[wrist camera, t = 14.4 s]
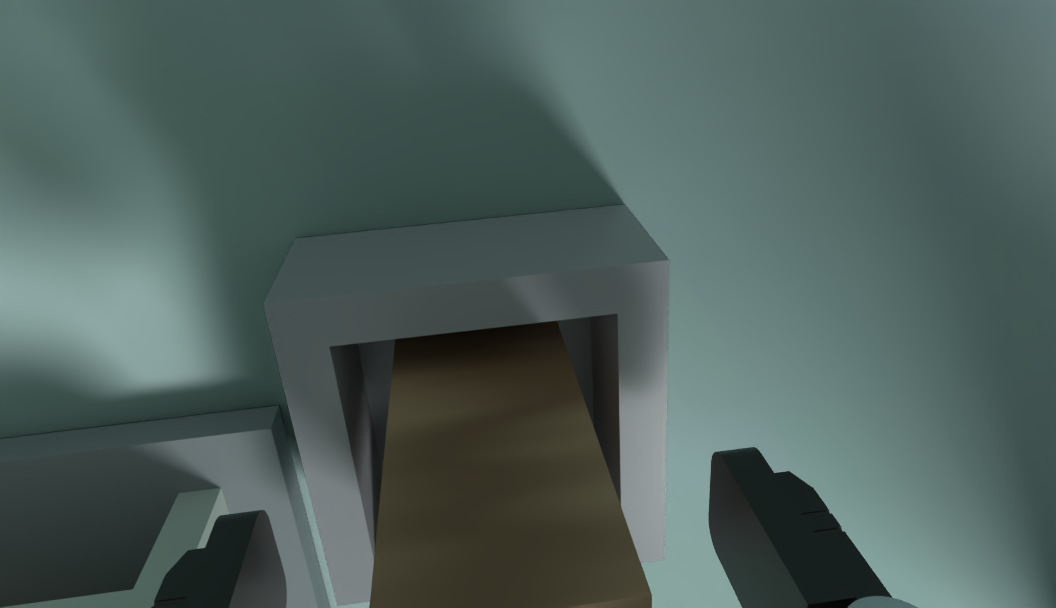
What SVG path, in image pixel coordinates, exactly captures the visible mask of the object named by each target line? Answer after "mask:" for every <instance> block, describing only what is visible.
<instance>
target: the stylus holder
mask: <svg viewBox="0 0 1056 608" xmlns="http://www.w3.org/2000/svg"><path fill="white" fill-rule="evenodd" d="M668 299H669V259H668V258H667V257H666V255H665V254H664V253H663V252H662V250H661V249H660V248H659V247H658V245H657V244H656V243H655V241H654V240H653V239H652V238H651V236H650V235H649V234H648V233H647V231H646V230H645V229H644V228H643V226H642V225H641V224H640V222H639V221H638V220H637V219H636V217H635V216H634V215H633V214H632V212H631V211H630V210H629V208H628V207H627V206H626V205H625V204H623V205H613V206H604V207H594V208H584V209H574V210H565V211H555V212H545V213H536V214H526V215H516V216H506V217H497V218H487V219H477V220H468V221H458V222H448V223H438V224H429V225H419V226H409V227H400V228H390V229H380V230H370V231H361V232H351V233H341V234H332V235H322V236H312V237H302V238H295V240H294V242H293V244H292V246H291V248H290V250H289V252H288V254H287V256H286V258H285V260H284V262H283V264H282V266H281V268H280V270H279V272H278V274H277V277H276V279H275V281H274V283H273V285H272V287H271V289H270V291H269V293H268V295H267V297H266V299H265V301H264V303H263V307H264V311H265V315H266V319H267V323H268V327H269V331H270V335H271V339H272V344H273V348H274V352H275V356H276V360H277V364H278V368H279V372H280V376H281V380H282V384H283V388H284V392H285V396H286V400H287V404H288V408H289V412H290V416H291V420H292V424H293V428H294V433H295V437H296V441H297V445H298V449H299V453H300V457H301V461H302V465H303V469H304V473H305V477H306V481H307V485H308V489H309V493H310V497H311V501H312V505H313V509H314V513H315V517H316V521H317V526H318V530H319V534H320V538H321V542H322V546H323V550H324V554H325V558H326V562H327V566H328V570H329V574H330V578H331V582H332V586H333V590H334V594H335V598H336V602H337V606H340V605H347V604H354V603H361V602H368V601H370V596H371V586H372V575H373V565H374V555H375V544H376V534H377V523H378V513H379V503H380V492H381V482H382V471H383V461H384V451H385V440H386V430H387V419H388V409H389V399H390V388H391V378H392V367H393V357H394V347H395V339H400V338H409V337H418V336H426V335H435V334H444V333H453V332H461V331H470V330H479V329H487V328H496V327H505V326H514V325H522V324H531V323H540V322H549V321H557V323H558V325H559V328H560V331H561V334H562V337H563V340H564V343H565V346H566V349H567V351H568V354H569V357H570V360H571V363H572V366H573V369H574V372H575V375H576V378H577V380H578V383H579V386H580V389H581V392H582V395H583V398H584V401H585V404H586V406H587V409H588V412H589V415H590V418H591V421H592V424H593V427H594V430H595V432H596V435H597V438H598V441H599V444H600V447H601V450H602V453H603V456H604V459H605V461H606V464H607V467H608V470H609V473H610V476H611V479H612V482H613V485H614V487H615V490H616V493H617V496H618V499H619V502H620V505H621V508H622V511H623V514H624V516H625V519H626V522H627V525H628V528H629V531H630V534H631V537H632V540H633V542H634V545H635V548H636V551H637V554H638V557H639V560H640V563H644V562H651V561H658V560H664V551H665V488H666V425H667V362H668Z"/></svg>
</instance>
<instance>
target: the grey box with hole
mask: <svg viewBox="0 0 1056 608" xmlns="http://www.w3.org/2000/svg"><path fill="white" fill-rule="evenodd" d="M257 510H265V511H266V513H267V514H268V517H269V520H270V523H271V527H272V530H273V534H274V537H275V541H276V544H277V548H278V551H279V555H280V558H281V562H282V566H283V569H284V573H285V578H286V585H287V604H286V608H330V605H329V601H328V597H327V593H326V590H325V586H324V582H323V578H322V574H321V570H320V566H319V562H318V558H317V554H316V550H315V546H314V542H313V538H312V534H311V530H310V526H309V522H308V519H307V515H306V511H305V507H304V503H303V499H302V495H301V491H300V487H299V483H298V479H297V475H296V471H295V467H294V463H293V459H292V455H291V451H290V448H289V444H288V440H287V436H286V432H285V428H284V424H283V420H282V416H281V412H280V408H279V405H278V406H270V407H262V408H253V409H245V410H237V411H228V412H220V413H212V414H203V415H195V416H187V417H178V418H170V419H162V420H153V421H145V422H137V423H128V424H120V425H112V426H103V427H95V428H87V429H78V430H70V431H62V432H53V433H45V434H37V435H28V436H20V437H12V438H3V439H0V608H151V607H152V606H154V600H155V597H156V595H157V593H158V590H159V588H160V586H161V584H162V581H163V579H164V577H165V575H166V573H167V572H168V571H169V570H170V569H171V568H172V567H173V566H174V565H175V564H176V562H177V561H178V560H179V559H180V558H181V557H182V556H183V555H184V554H185V553H186V552H187V550H192V549H200V548H205V546H206V544H207V541H208V539H209V536H210V533H211V531H212V528H213V526H214V523H215V521H216V519H217V518H218V517H219V516H220V515H227V514H234V513H242V512H250V511H257Z"/></svg>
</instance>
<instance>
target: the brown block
mask: <svg viewBox="0 0 1056 608" xmlns="http://www.w3.org/2000/svg"><path fill="white" fill-rule="evenodd" d="M369 608H652V595H651V592H650V589H649V586H648V583H647V580H646V577H645V574H644V571H643V568H642V566H641V563H640V560H639V557H638V554H637V551H636V548H635V545H634V542H633V540H632V537H631V534H630V531H629V528H628V525H627V522H626V519H625V516H624V514H623V511H622V508H621V505H620V502H619V499H618V496H617V493H616V490H615V487H614V485H613V482H612V479H611V476H610V473H609V470H608V467H607V464H606V461H605V459H604V456H603V453H602V450H601V447H600V444H599V441H598V438H597V435H596V432H595V430H594V427H593V424H592V421H591V418H590V415H589V412H588V409H587V406H586V404H585V401H584V398H583V395H582V392H581V389H580V386H579V383H578V380H577V378H576V375H575V372H574V369H573V366H572V363H571V360H570V357H569V354H568V351H567V349H566V346H565V343H564V340H563V337H562V334H561V331H560V328H559V325H558V323H557V321H549V322H540V323H531V324H522V325H514V326H505V327H496V328H487V329H479V330H470V331H461V332H453V333H444V334H435V335H426V336H418V337H409V338H400V339H395V347H394V357H393V367H392V378H391V388H390V399H389V409H388V419H387V430H386V440H385V451H384V461H383V471H382V482H381V492H380V503H379V513H378V523H377V534H376V544H375V555H374V565H373V575H372V586H371V596H370V607H369Z"/></svg>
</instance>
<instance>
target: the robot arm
mask: <svg viewBox="0 0 1056 608" xmlns="http://www.w3.org/2000/svg"><path fill="white" fill-rule="evenodd" d="M709 528H710V534H711V539H712V542H713V546H714V549H715V551H716V554H717V556H718V558H719V560H720V562H721V564H722V566H723V568H724V570H725V572H726V575H727V577H728V579H729V581H730V583H731V585H732V587H733V589H734V591H735V593H736V595H737V597H738V600H739V602H740V604H741V606H742V608H917V607H916V606H914V605H912V604H910V603H907V602H905V601H902V600H899V599H895V598H892V596H891V595H890V594H889V592H888V591H887V590H886V588H885V587H884V585H883V584H882V583H881V581H880V580H879V578H878V577H877V576H876V574H875V573H874V572H873V570H872V569H871V567H870V566H869V565H868V563H867V562H866V560H865V559H864V558H863V556H862V555H861V553H860V552H859V551H858V549H857V548H856V547H855V545H854V544H853V542H852V541H851V540H850V538H849V537H848V535H847V534H846V533H845V531H844V532H843V531H842V529H841V526H840V524H839V523H838V522H837V520H836V519H835V517H834V516H833V515H832V514H830V513H829V509H828V508H827V506H826V505H825V504H824V502H823V501H822V499H821V498H820V497H819V495H818V494H817V492H816V491H815V490H814V488H812V487H811V486H810V485H808V484H807V483H805V482H804V481H802V480H801V479H799V478H798V477H797V476H795V475H794V474H792V473H791V472H789V471H787V472H779V473H774V472H773V471H772V469H771V468H770V466H769V465H768V463H767V462H766V460H765V459H764V457H763V456H762V454H761V453H760V451H759V450H758V449H757V448H755V447H750V448H742V449H735V450H727V451H719V452H715V453H714V454H713V456H712V460H711V478H710V498H709ZM286 604H287V585H286V578H285V573H284V569H283V566H282V562H281V558H280V555H279V551H278V548H277V544H276V541H275V537H274V534H273V530H272V527H271V523H270V520H269V517H268V514H267V513H266V511H265V510H257V511H250V512H242V513H234V514H227V515H220V516H219V517H218V518H217V519H216V521H215V523H214V526H213V528H212V531H211V533H210V536H209V539H208V541H207V544H206V546H205V548H200V549H192V550H187V552H186V553H185V554H184V555H183V556H182V557H181V558H180V559H179V560H178V561H177V562H176V564H175V565H174V566H173V567H172V568H171V569H170V570H169V571H168V572H167V573H166V575H165V577H164V579H163V581H162V584H161V586H160V588H159V590H158V593H157V595H156V597H155V600H154V606H152V607H151V608H286Z"/></svg>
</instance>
